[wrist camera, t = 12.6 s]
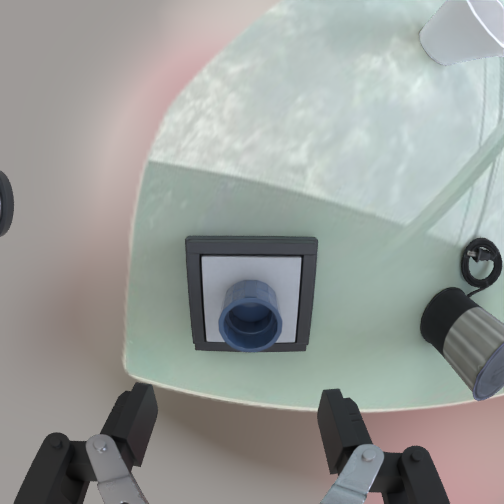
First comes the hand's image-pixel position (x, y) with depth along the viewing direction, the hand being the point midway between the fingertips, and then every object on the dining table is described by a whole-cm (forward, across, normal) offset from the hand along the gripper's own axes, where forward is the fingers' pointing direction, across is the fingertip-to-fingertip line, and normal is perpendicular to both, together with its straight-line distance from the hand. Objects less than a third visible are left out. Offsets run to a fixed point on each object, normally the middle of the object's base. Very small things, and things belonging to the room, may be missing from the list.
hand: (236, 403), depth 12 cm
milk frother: (+21, -31, +4) cm, 37 cm away
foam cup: (+21, -25, -31) cm, 45 cm away
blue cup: (+18, -1, +3) cm, 18 cm away
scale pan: (+19, -1, +3) cm, 19 cm away
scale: (+21, -1, +3) cm, 21 cm away
